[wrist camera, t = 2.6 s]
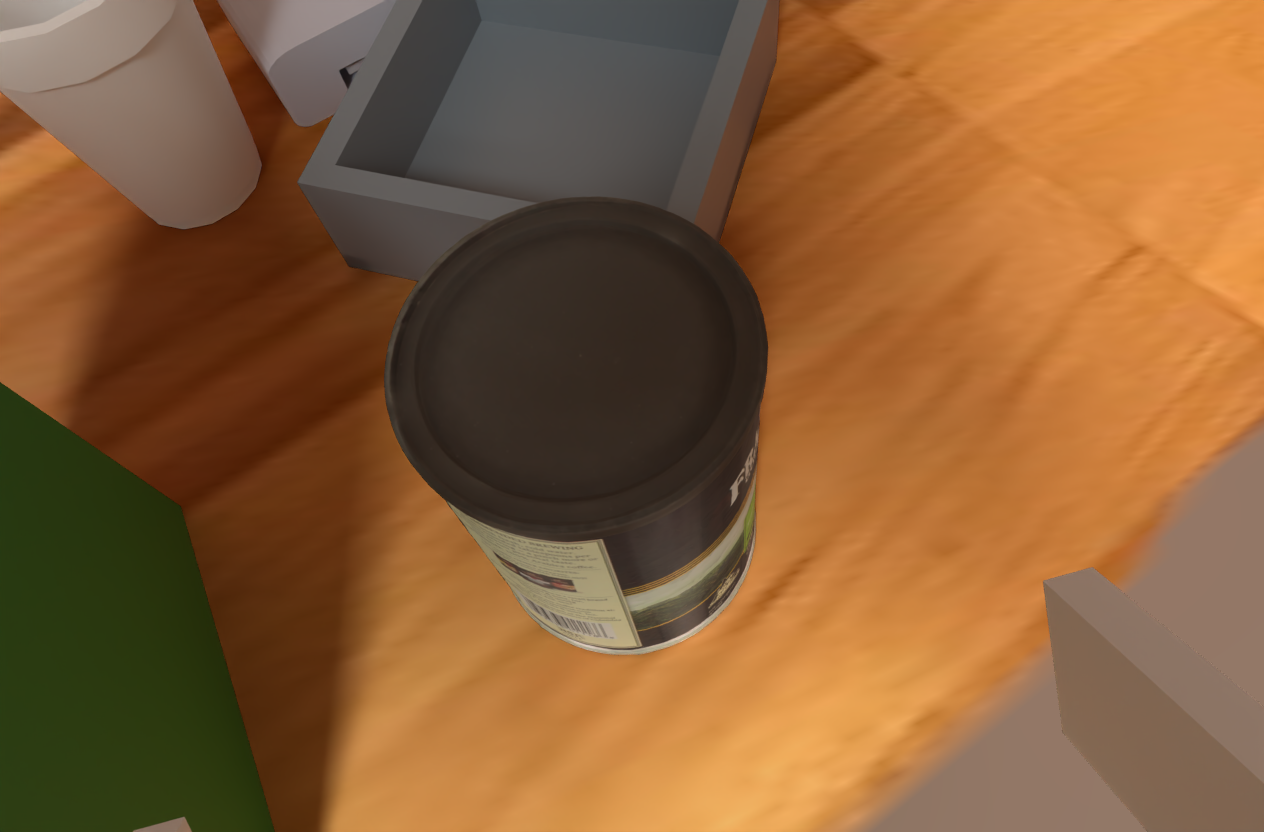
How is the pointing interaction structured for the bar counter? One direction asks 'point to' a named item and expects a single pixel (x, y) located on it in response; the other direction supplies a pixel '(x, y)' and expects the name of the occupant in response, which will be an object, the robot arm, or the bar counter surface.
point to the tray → (538, 117)
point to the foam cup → (133, 100)
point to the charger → (308, 47)
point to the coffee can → (590, 413)
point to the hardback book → (107, 651)
